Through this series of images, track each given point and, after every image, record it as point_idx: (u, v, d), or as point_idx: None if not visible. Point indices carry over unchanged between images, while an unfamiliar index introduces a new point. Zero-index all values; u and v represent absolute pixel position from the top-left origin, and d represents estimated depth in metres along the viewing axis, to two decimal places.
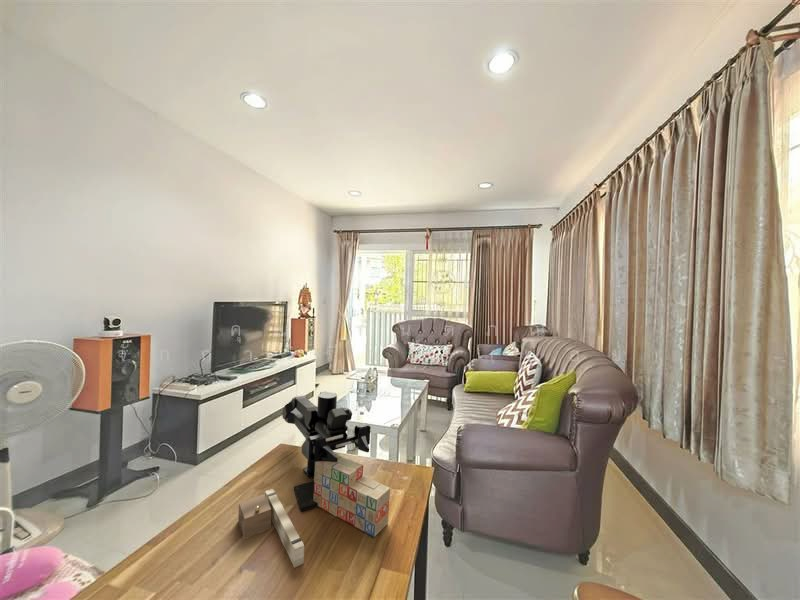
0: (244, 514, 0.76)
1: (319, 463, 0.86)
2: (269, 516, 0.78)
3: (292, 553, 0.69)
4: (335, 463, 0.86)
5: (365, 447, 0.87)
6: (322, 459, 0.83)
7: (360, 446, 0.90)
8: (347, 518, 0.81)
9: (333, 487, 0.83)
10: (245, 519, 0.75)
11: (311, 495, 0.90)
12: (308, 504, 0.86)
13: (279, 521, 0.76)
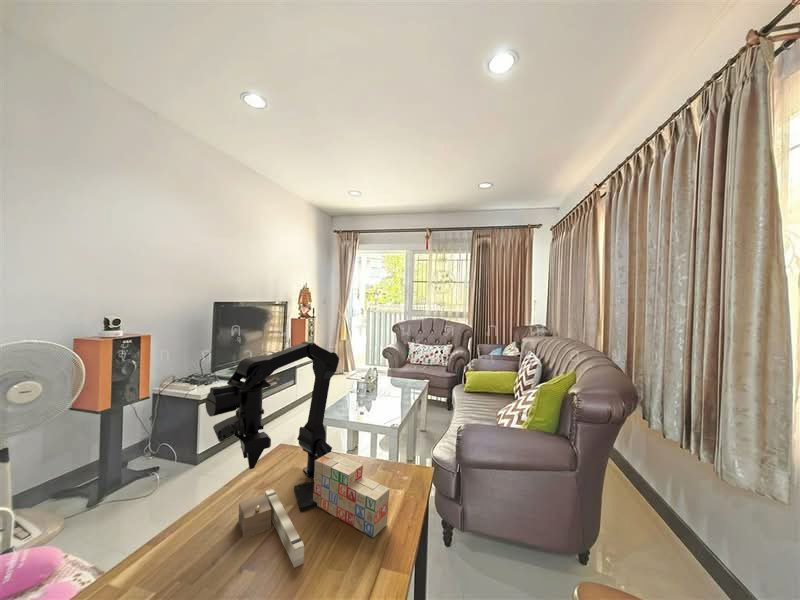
0: (244, 514, 0.76)
1: (319, 463, 0.86)
2: (269, 516, 0.78)
3: (292, 553, 0.69)
4: (335, 463, 0.86)
5: None
6: None
7: None
8: (346, 518, 0.81)
9: (332, 487, 0.83)
10: (245, 519, 0.75)
11: (311, 495, 0.90)
12: (308, 504, 0.86)
13: (279, 521, 0.76)
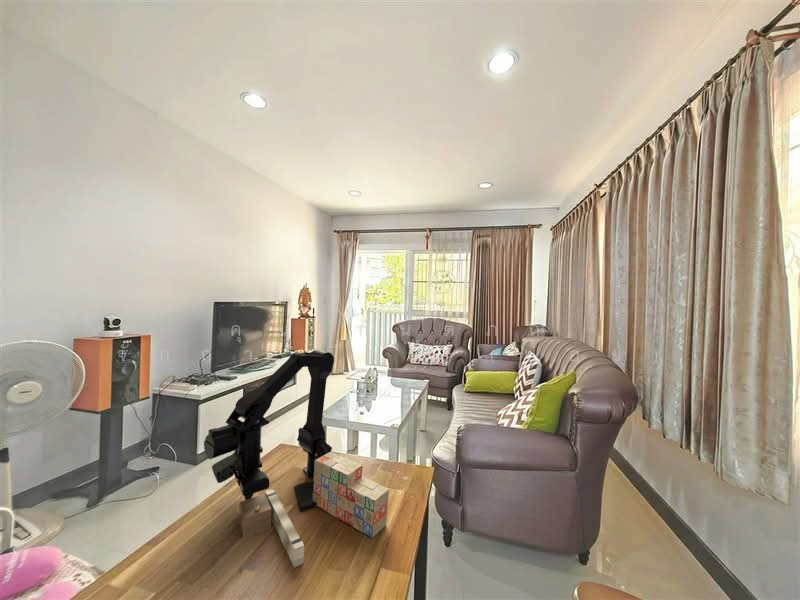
0: (244, 514, 0.76)
1: (318, 463, 0.86)
2: (269, 516, 0.78)
3: (292, 553, 0.69)
4: (334, 463, 0.86)
5: None
6: None
7: None
8: (345, 518, 0.81)
9: (332, 487, 0.83)
10: (245, 519, 0.75)
11: (311, 495, 0.90)
12: (308, 504, 0.86)
13: (279, 521, 0.76)
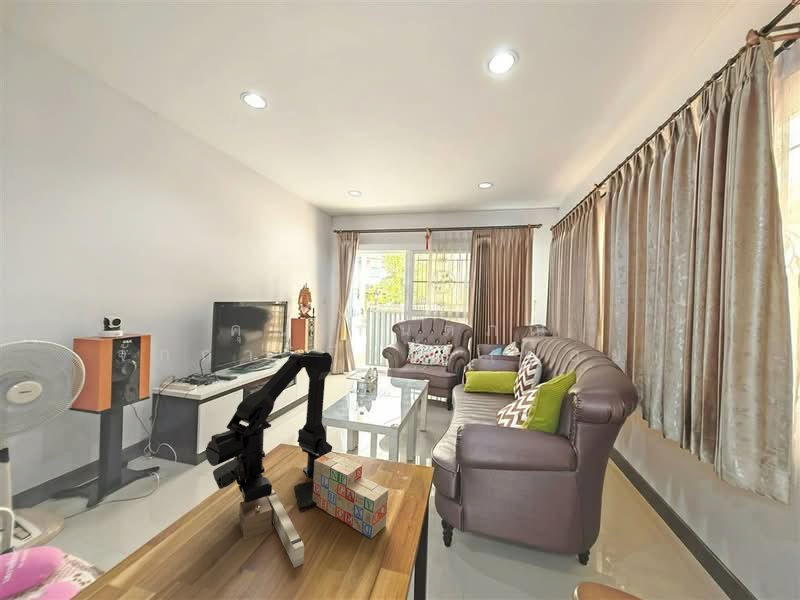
0: (245, 514, 0.76)
1: (318, 463, 0.86)
2: (270, 516, 0.78)
3: (292, 553, 0.69)
4: (334, 463, 0.86)
5: None
6: None
7: None
8: (345, 519, 0.81)
9: (331, 487, 0.83)
10: (246, 519, 0.75)
11: (310, 495, 0.90)
12: (307, 504, 0.86)
13: (279, 521, 0.76)
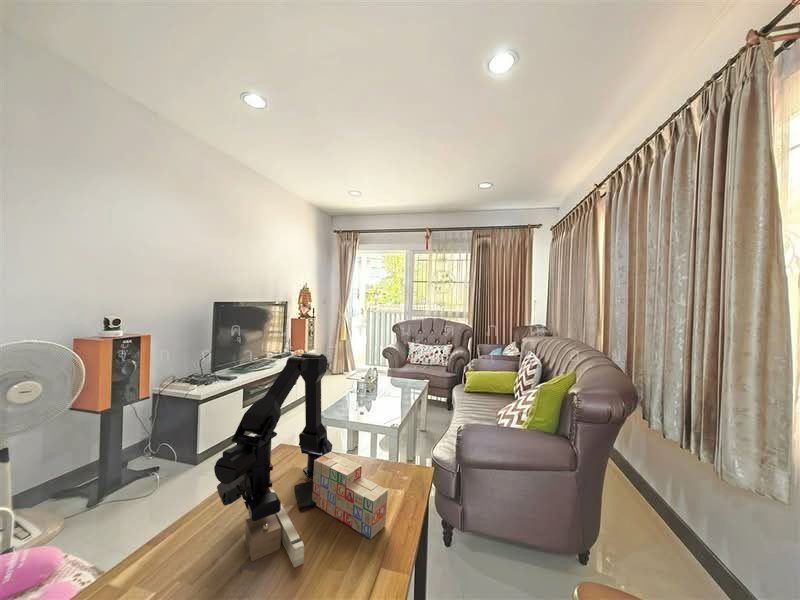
0: (252, 533, 0.70)
1: (318, 463, 0.86)
2: (279, 535, 0.72)
3: (292, 553, 0.69)
4: (334, 463, 0.86)
5: None
6: None
7: None
8: (344, 519, 0.81)
9: (331, 487, 0.83)
10: (253, 539, 0.69)
11: (310, 495, 0.90)
12: (307, 504, 0.86)
13: (279, 521, 0.76)
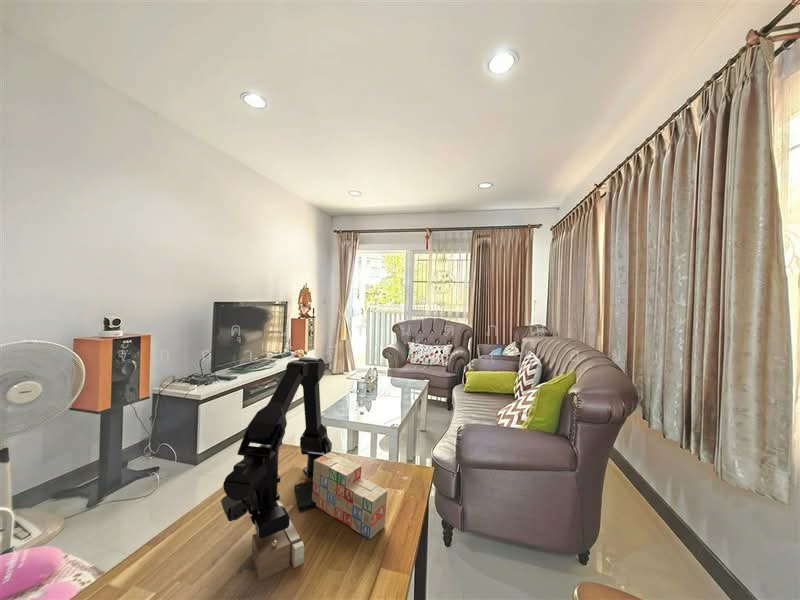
0: (259, 551, 0.65)
1: (318, 463, 0.86)
2: (288, 552, 0.67)
3: (292, 553, 0.69)
4: (333, 463, 0.86)
5: None
6: None
7: None
8: (344, 519, 0.80)
9: (331, 487, 0.83)
10: (261, 557, 0.64)
11: (310, 495, 0.90)
12: (307, 504, 0.86)
13: None
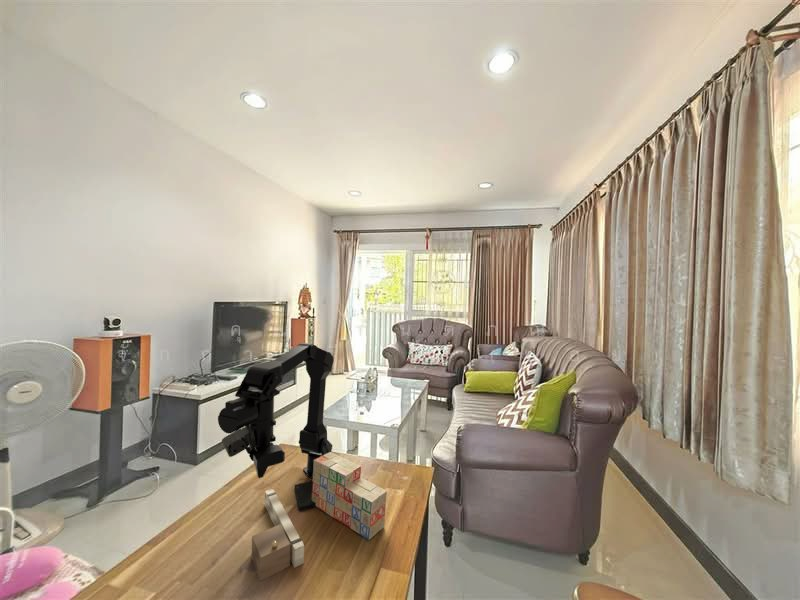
0: (260, 551, 0.65)
1: (317, 463, 0.86)
2: (288, 552, 0.68)
3: (292, 553, 0.69)
4: (333, 463, 0.86)
5: None
6: None
7: None
8: (343, 519, 0.80)
9: (330, 487, 0.83)
10: (261, 558, 0.64)
11: (310, 495, 0.90)
12: (307, 504, 0.86)
13: (279, 521, 0.76)
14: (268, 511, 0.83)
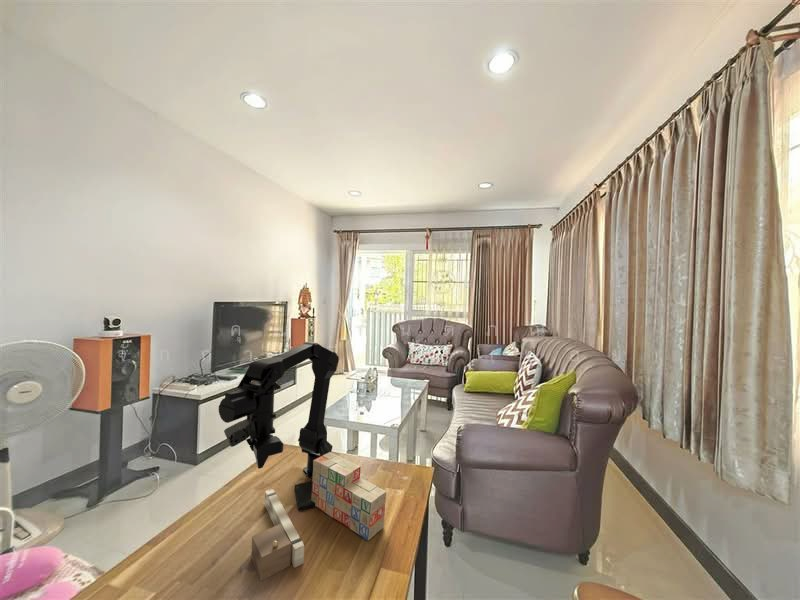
0: (260, 551, 0.65)
1: (317, 463, 0.86)
2: (289, 551, 0.68)
3: (292, 553, 0.69)
4: (332, 463, 0.86)
5: None
6: None
7: None
8: (343, 520, 0.80)
9: (330, 488, 0.83)
10: (262, 557, 0.64)
11: (310, 495, 0.90)
12: (306, 504, 0.86)
13: (279, 521, 0.76)
14: (268, 511, 0.83)
